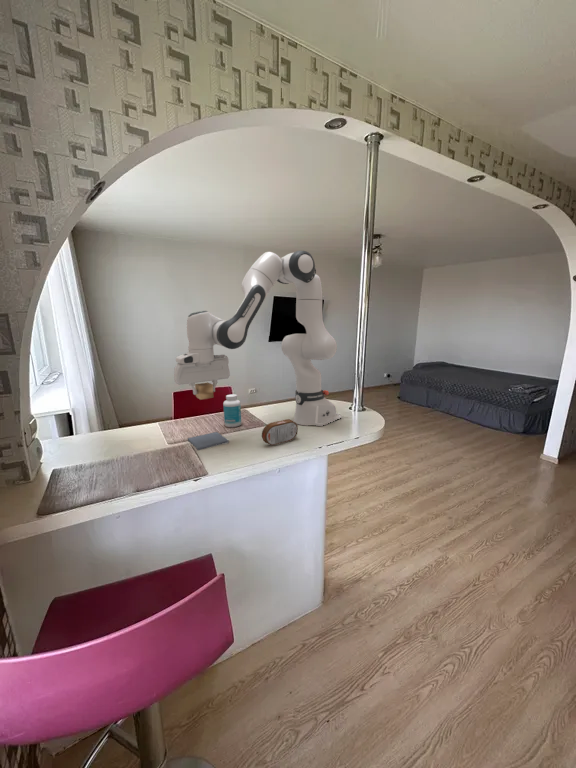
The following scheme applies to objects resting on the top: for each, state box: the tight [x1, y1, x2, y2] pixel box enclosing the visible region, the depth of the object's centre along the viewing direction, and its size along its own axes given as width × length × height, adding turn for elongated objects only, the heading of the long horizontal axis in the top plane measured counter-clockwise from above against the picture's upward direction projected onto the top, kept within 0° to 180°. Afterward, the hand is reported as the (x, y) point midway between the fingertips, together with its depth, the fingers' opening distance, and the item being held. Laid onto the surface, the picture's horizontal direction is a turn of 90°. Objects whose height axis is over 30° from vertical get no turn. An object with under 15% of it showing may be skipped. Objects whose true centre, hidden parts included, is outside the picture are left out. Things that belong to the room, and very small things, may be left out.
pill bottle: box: [222, 393, 243, 428], centre depth 145 cm, size 8×7×14 cm
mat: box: [187, 431, 230, 451], centre depth 128 cm, size 12×12×1 cm
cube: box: [194, 381, 214, 401], centre depth 123 cm, size 5×5×5 cm
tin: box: [261, 418, 299, 446], centre depth 124 cm, size 15×3×8 cm, turn 124°
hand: (204, 393), depth 124 cm, fingers closed on cube, 5 cm apart
